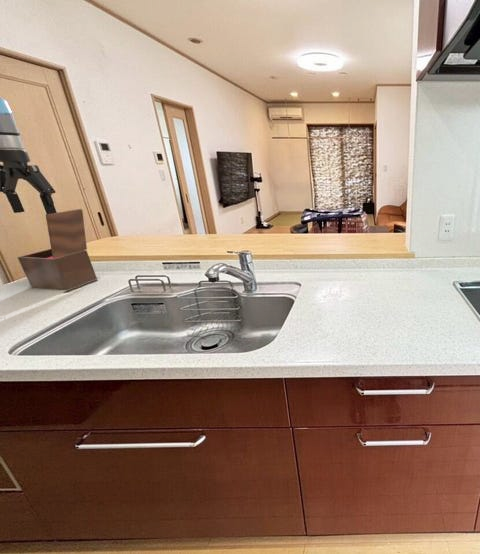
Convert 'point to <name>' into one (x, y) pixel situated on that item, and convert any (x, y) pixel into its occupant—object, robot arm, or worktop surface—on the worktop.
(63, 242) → the chest lid
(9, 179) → the robot arm
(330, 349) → the worktop surface
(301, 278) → the worktop surface
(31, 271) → the chest
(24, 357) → the worktop surface
